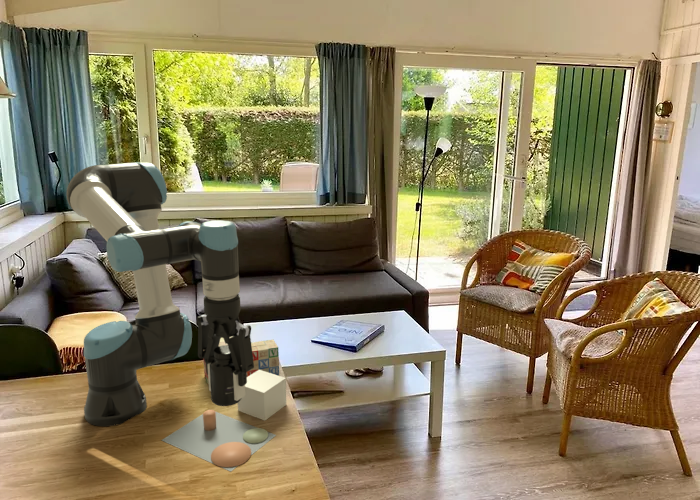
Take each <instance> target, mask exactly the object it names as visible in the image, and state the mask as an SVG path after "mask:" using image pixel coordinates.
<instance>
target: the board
mask: <svg viewBox="0 0 700 500" xmlns="http://www.w3.org/2000/svg"><path fill="white" fill-rule="evenodd" d="M276 436H277V434H276V433H275V434H274V433H272V432H269V431H267V429H264V428H261V427H257V426H254V425H251V424H249V423H246V422H243V421H241V420H238V419H236V418H233V417H230V416H228V415H226V414H223V413H220V412H218V411H215V410H214V409H207V410H205V411H204V412H203V413H202V414H201V415H199V416H197V417H196V418H194V419H192V420H191V421H189V422H188V423H186V424H184V425H183V426H182V427H180V428H178V429H177V430H175V431H173V432H172V433H171V434H169V435H167V436H166V437H164V438H163V439H161V440H160V441H162V442H164V443H167V444H168V445H170V446H173V447H176V448H177V449H179V450H182V451H184V452H186V453H187V454H188V453H189V454H190V455H193V456H195V457H198V458H199V459H201V460H204V461H206V462H208V463H210V464H213V465H214V466H217V467H219V468H222V469H224V470H225V471H229V472H230V473H231V472H233V471H234V470H235V469H236V468H237V467H239V466H240V465H243V464H244V463H246V462H247V461H248V460H249V459H250V458H251V456H252V455H254V454H255V453H256V452H257V451H259V450H260V449H261V448H263V446H265V445H266V444H267V443H269V442H270V441H271V440H273V439H274V438H275V437H276Z"/></svg>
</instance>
